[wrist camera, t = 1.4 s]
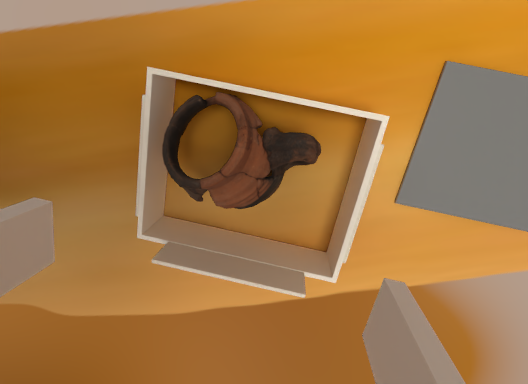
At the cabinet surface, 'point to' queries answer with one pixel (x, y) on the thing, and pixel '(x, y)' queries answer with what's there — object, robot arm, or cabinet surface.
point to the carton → (233, 243)
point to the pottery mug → (239, 155)
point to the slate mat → (473, 148)
